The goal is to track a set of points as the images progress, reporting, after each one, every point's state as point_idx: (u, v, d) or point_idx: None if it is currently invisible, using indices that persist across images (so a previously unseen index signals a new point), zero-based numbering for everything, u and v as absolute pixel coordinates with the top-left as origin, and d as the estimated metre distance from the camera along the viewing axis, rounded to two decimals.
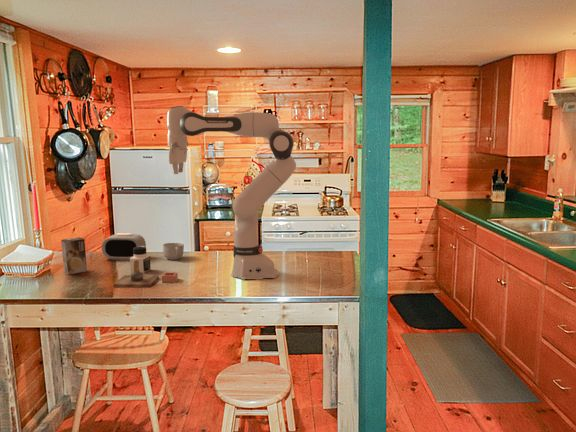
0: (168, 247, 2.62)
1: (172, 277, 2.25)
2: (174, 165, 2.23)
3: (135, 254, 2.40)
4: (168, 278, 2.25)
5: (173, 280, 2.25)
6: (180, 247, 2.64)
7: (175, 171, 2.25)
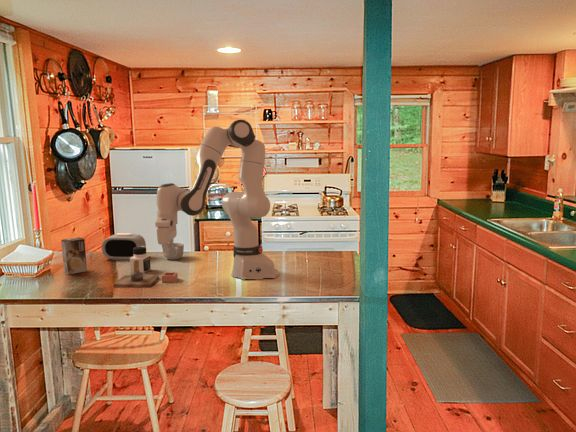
0: None
1: (172, 277, 2.25)
2: None
3: (135, 254, 2.40)
4: (168, 278, 2.25)
5: (173, 280, 2.25)
6: (180, 247, 2.64)
7: None
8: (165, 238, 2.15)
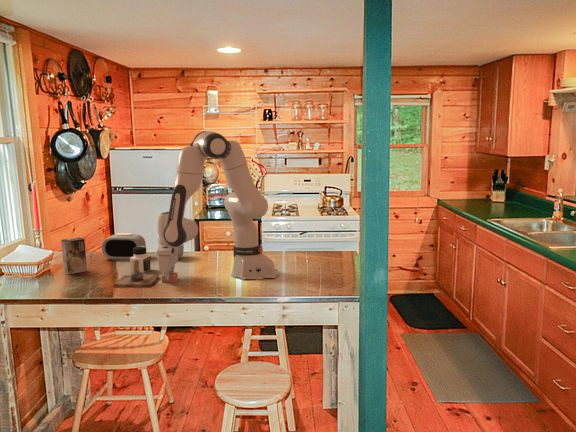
0: None
1: (172, 277, 2.25)
2: None
3: (135, 254, 2.40)
4: None
5: (173, 280, 2.25)
6: (180, 247, 2.64)
7: None
8: (167, 266, 2.17)
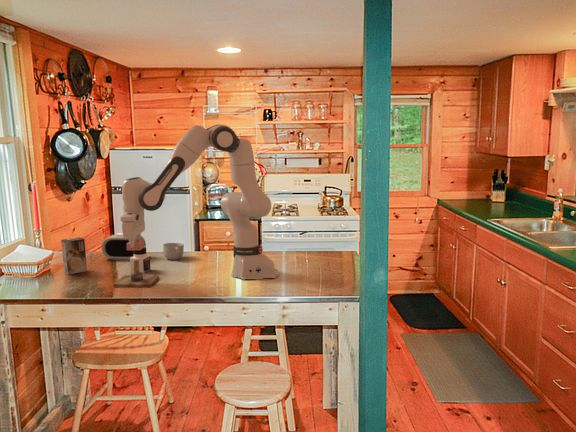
0: (168, 247, 2.62)
1: (137, 245, 2.20)
2: None
3: (135, 254, 2.40)
4: None
5: (138, 248, 2.20)
6: (180, 247, 2.64)
7: None
8: (130, 233, 2.12)
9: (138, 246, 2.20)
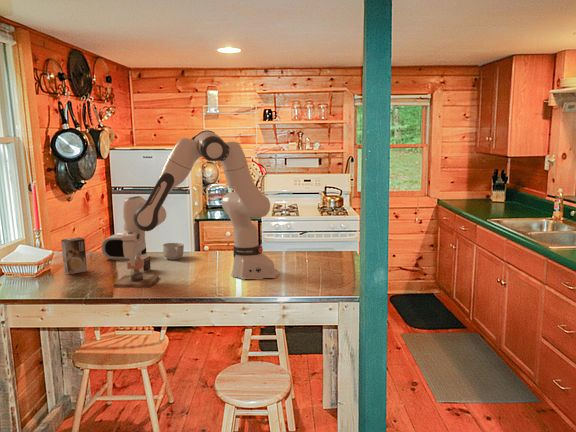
0: (168, 247, 2.62)
1: (138, 263, 2.21)
2: None
3: None
4: None
5: (139, 266, 2.21)
6: (180, 247, 2.64)
7: None
8: (131, 252, 2.13)
9: (139, 265, 2.21)
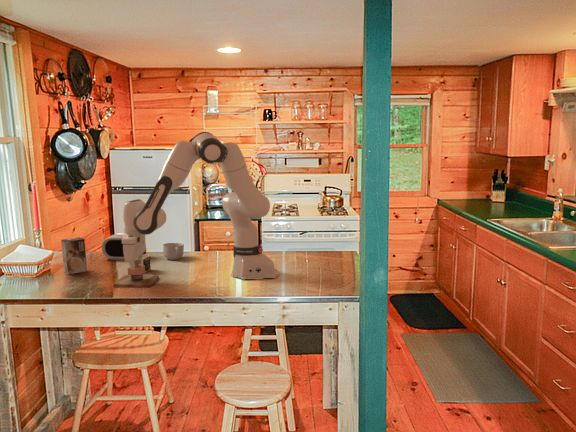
0: (168, 247, 2.62)
1: (138, 270, 2.22)
2: None
3: None
4: (134, 271, 2.22)
5: (139, 273, 2.22)
6: (180, 247, 2.64)
7: None
8: (132, 255, 2.13)
9: (139, 271, 2.22)
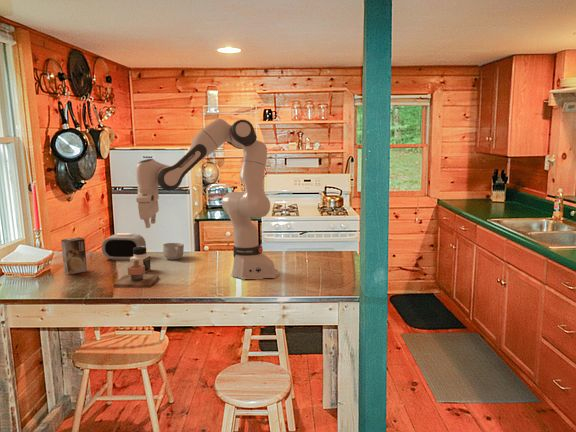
0: (168, 247, 2.62)
1: (138, 270, 2.22)
2: None
3: (135, 254, 2.40)
4: (134, 271, 2.22)
5: (139, 273, 2.22)
6: (180, 247, 2.64)
7: None
8: (147, 213, 2.18)
9: (139, 271, 2.22)
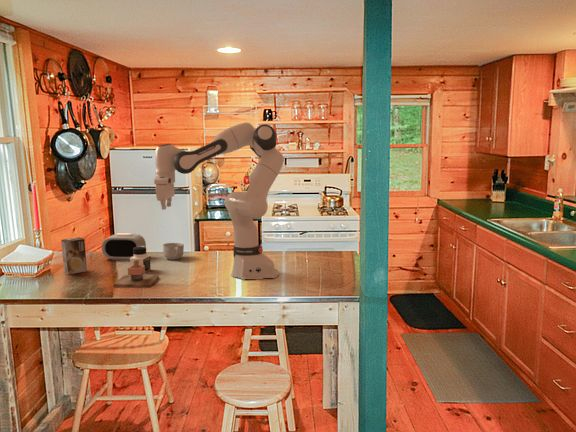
0: (168, 247, 2.62)
1: (138, 270, 2.22)
2: None
3: (135, 254, 2.40)
4: (134, 271, 2.22)
5: (139, 273, 2.22)
6: (180, 247, 2.64)
7: None
8: (163, 194, 2.27)
9: (139, 271, 2.22)
